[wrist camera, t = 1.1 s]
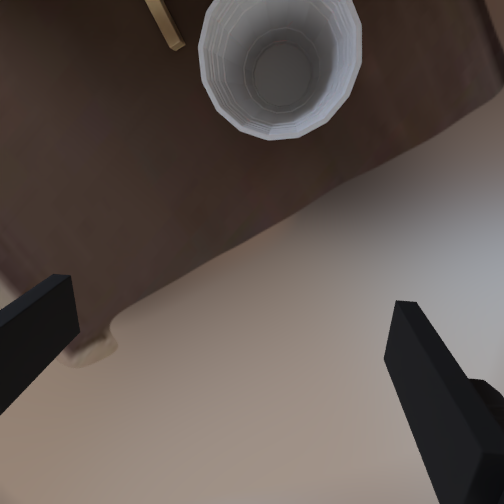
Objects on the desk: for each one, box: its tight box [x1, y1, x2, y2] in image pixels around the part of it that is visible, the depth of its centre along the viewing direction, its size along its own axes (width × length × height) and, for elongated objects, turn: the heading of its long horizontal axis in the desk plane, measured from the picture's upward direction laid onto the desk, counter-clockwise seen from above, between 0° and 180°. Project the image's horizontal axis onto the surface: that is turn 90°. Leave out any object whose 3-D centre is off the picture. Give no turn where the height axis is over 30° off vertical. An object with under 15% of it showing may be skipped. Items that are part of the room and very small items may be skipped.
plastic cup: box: [198, 0, 362, 141], centre depth 29 cm, size 11×11×12 cm
